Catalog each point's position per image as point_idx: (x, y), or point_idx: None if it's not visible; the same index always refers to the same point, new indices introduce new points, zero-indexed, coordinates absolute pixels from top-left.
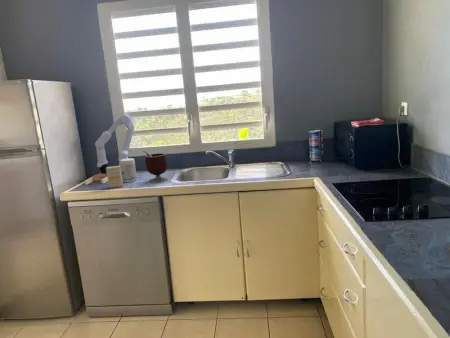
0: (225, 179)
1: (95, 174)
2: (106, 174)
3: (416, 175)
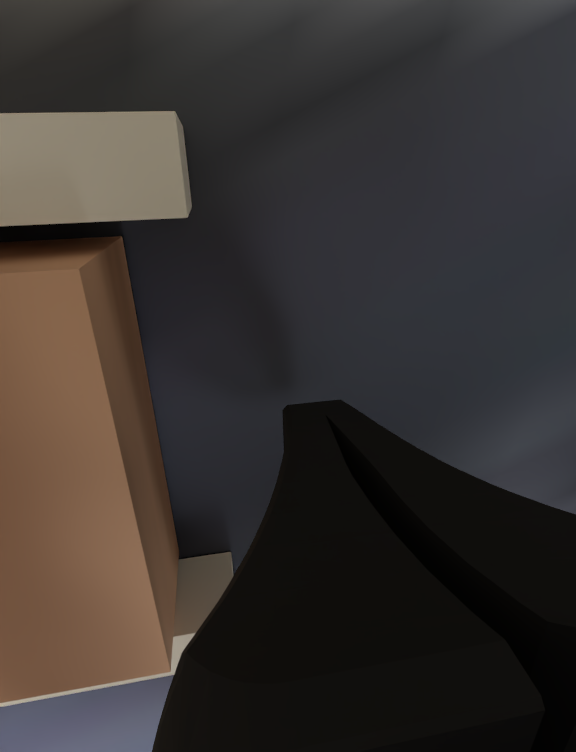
0: None
1: (25, 276)
2: (29, 694)
3: None
